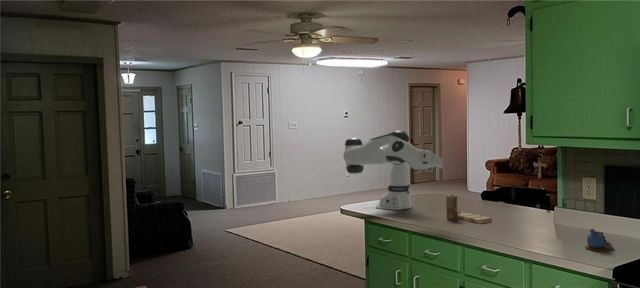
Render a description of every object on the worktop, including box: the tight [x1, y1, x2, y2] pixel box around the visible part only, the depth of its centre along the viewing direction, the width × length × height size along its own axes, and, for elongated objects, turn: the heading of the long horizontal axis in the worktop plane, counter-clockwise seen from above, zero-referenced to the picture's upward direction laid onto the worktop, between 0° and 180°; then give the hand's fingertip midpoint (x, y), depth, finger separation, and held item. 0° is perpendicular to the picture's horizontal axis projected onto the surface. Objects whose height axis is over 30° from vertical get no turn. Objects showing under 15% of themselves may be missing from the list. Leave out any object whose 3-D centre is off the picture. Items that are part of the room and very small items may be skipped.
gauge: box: [445, 193, 462, 221], centre depth 295 cm, size 8×4×14 cm, turn 119°
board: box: [457, 211, 493, 225], centre depth 293 cm, size 24×9×2 cm, turn 29°
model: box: [585, 228, 615, 253], centre depth 225 cm, size 12×9×9 cm
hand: (434, 168), depth 289 cm, fingers open, 8 cm apart
